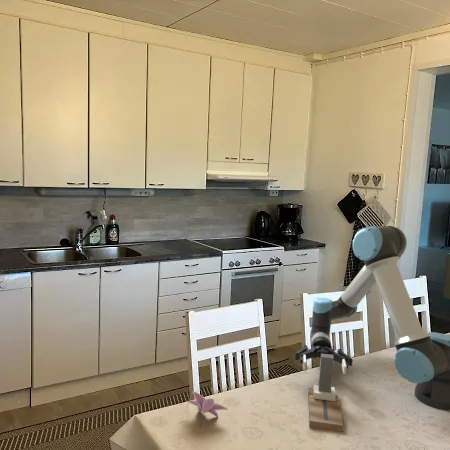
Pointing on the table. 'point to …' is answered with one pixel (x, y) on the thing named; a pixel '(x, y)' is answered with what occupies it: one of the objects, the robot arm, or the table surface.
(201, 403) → the lily
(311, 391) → the board
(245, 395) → the table surface
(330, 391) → the slider
